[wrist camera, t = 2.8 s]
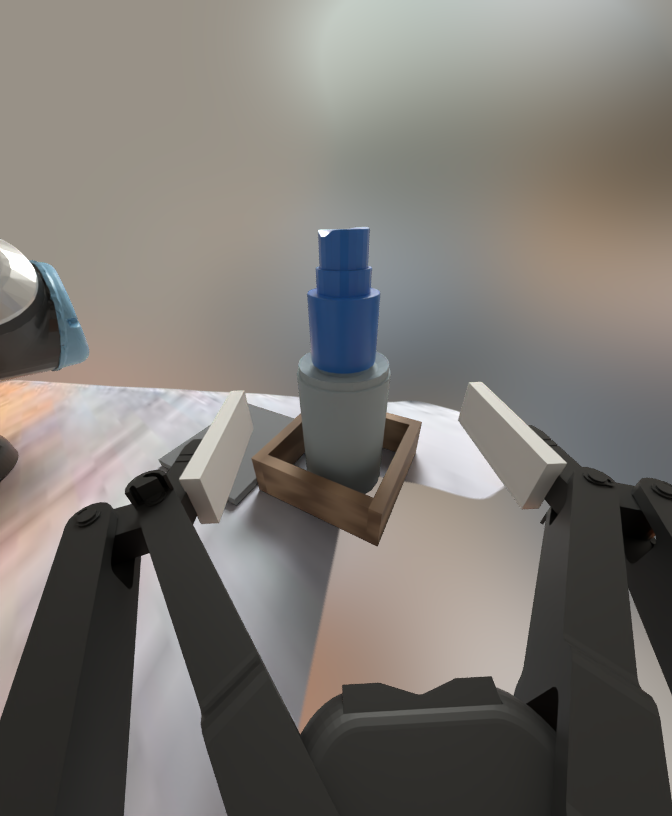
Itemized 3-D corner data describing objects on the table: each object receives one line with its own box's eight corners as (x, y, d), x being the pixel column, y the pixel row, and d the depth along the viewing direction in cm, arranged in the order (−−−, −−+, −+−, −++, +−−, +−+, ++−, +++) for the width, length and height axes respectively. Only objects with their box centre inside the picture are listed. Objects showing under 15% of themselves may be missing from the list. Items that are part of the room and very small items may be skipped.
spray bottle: (356, 438, 38) (364, 227, 24) (394, 481, 32) (435, 225, 18) (297, 458, 35) (267, 228, 21) (325, 512, 28) (310, 227, 14)
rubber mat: (161, 465, 34) (158, 459, 34) (245, 407, 45) (244, 402, 45) (236, 505, 29) (234, 499, 29) (310, 429, 40) (310, 423, 40)
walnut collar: (259, 489, 31) (251, 458, 28) (322, 422, 41) (321, 394, 39) (377, 546, 25) (381, 514, 22) (415, 452, 36) (422, 422, 33)
